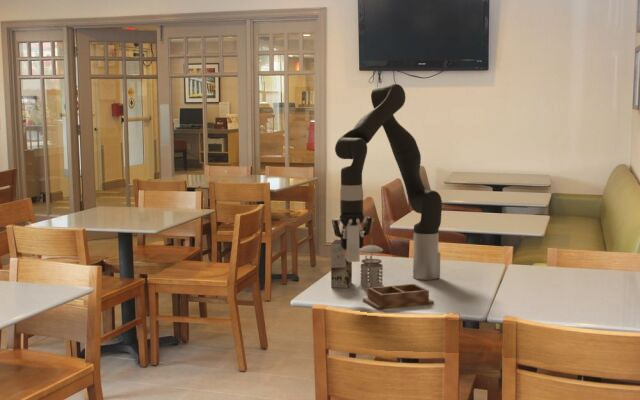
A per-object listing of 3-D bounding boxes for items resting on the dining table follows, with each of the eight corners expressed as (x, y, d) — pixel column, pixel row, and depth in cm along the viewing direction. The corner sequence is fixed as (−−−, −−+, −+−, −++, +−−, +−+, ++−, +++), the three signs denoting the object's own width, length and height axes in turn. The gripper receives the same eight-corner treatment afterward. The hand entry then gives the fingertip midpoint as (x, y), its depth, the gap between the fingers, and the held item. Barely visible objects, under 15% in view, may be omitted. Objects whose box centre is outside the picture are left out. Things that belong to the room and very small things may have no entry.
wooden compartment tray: (416, 295, 260) (417, 282, 259) (433, 304, 249) (434, 290, 248) (362, 301, 253) (362, 287, 253) (377, 310, 242) (377, 296, 241)
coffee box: (348, 288, 271) (348, 243, 269) (330, 287, 272) (330, 243, 270) (352, 282, 280) (352, 239, 278) (335, 281, 281) (335, 238, 279)
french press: (388, 285, 275) (388, 216, 272) (380, 292, 264) (380, 221, 261) (362, 283, 278) (362, 215, 275) (352, 290, 268) (353, 220, 264)
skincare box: (344, 258, 258) (344, 223, 257) (357, 258, 259) (357, 223, 257) (347, 262, 252) (346, 226, 251) (359, 261, 253) (359, 226, 251)
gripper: (366, 195, 259) (367, 245, 261) (327, 198, 254) (328, 248, 256) (376, 198, 252) (376, 248, 254) (335, 200, 247) (336, 252, 249)
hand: (352, 248), depth 255 cm, fingers closed on skincare box, 5 cm apart
